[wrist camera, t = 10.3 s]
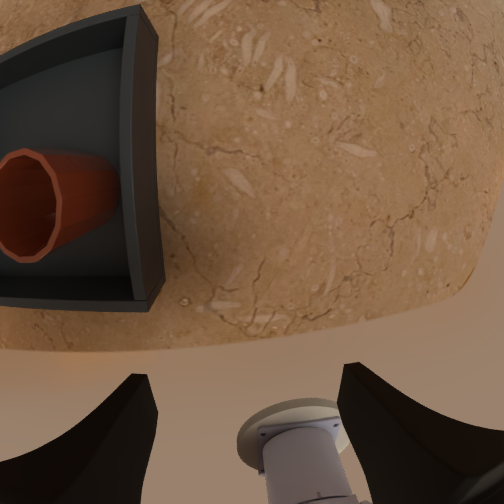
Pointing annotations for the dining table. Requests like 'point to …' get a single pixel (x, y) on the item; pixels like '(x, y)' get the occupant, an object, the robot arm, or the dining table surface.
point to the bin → (95, 141)
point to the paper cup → (53, 200)
